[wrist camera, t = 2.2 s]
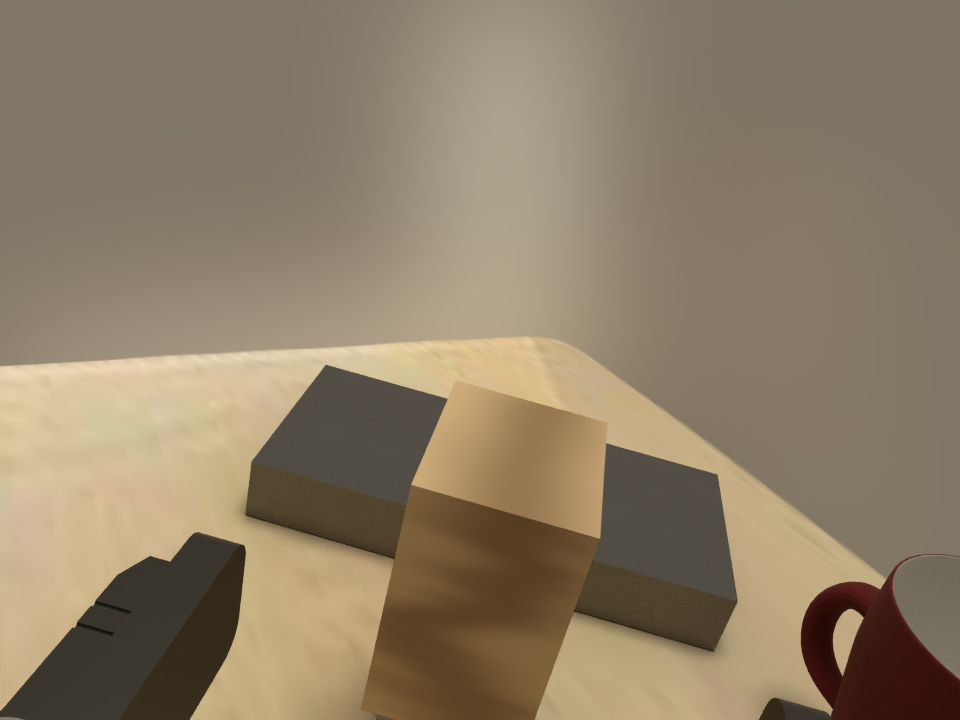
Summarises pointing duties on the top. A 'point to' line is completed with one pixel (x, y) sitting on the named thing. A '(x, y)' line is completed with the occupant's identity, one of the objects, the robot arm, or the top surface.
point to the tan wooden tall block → (488, 560)
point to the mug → (891, 644)
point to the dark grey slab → (395, 460)
